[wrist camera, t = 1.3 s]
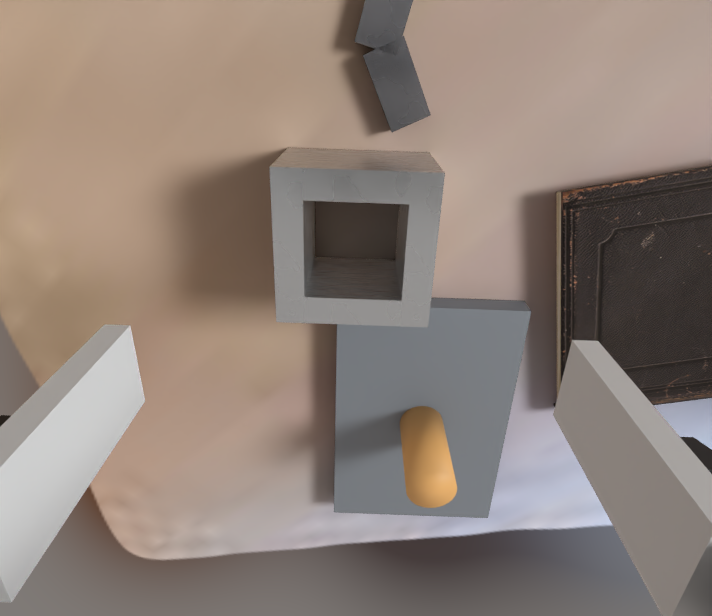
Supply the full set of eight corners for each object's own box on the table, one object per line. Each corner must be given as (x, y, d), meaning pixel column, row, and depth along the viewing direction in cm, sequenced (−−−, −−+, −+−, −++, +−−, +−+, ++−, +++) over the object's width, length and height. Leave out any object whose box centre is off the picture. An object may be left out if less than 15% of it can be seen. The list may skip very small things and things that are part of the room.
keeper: (338, 294, 32) (331, 355, 25) (524, 301, 32) (567, 364, 25) (334, 497, 40) (328, 585, 33) (483, 502, 40) (507, 591, 33)
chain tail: (359, -147, 22) (359, -156, 21) (451, -144, 22) (455, -153, 21) (352, 128, 27) (352, 131, 26) (426, 131, 27) (428, 133, 26)
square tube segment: (288, 147, 28) (269, 166, 22) (429, 152, 28) (444, 173, 22) (291, 278, 31) (276, 322, 26) (417, 282, 31) (428, 327, 26)
